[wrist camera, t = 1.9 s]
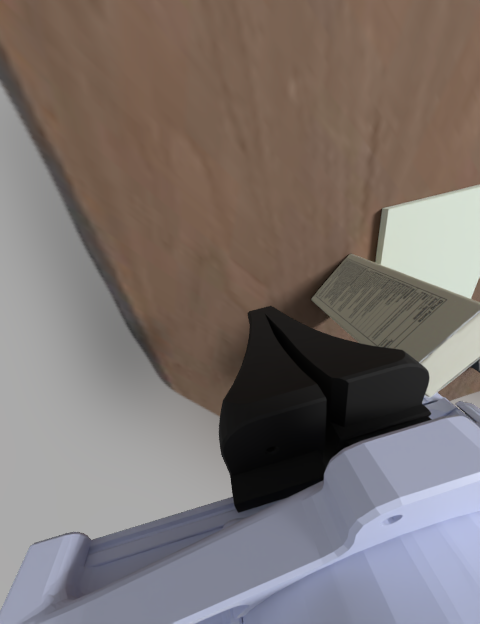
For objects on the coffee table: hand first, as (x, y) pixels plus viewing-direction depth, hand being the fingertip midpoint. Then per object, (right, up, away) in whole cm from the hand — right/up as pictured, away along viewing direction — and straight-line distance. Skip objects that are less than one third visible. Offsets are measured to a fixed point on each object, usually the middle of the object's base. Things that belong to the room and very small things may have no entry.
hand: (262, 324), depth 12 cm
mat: (+20, +6, +13) cm, 24 cm away
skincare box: (+10, +4, +12) cm, 16 cm away
